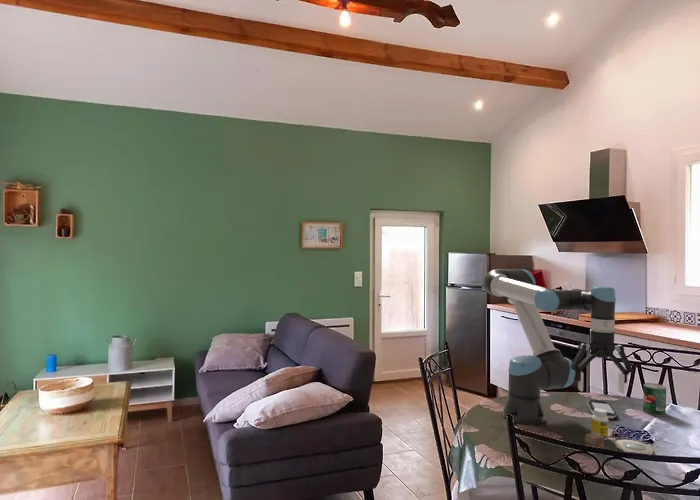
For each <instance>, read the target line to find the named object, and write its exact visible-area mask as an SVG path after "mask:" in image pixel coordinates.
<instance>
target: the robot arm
mask: <svg viewBox="0 0 700 500" xmlns="http://www.w3.org/2000/svg"><path fill="white" fill-rule="evenodd" d="M536 284H537V283H536V279H535V277H534V275H533V274H532V273H531V272H530V271H529V270H527V269H523V268H522V269H521V268H513V269H512V268H510V269H508V268H504V269H503V268H501V269H500V268H497V269H492V270H490V271H488V272H487V273H486V274H485V276H484V277H483V281H482V285H483V288H484V290H485V291H486V292H487V294H489V295H492V296H494V297H500V298H501V297H506V301H507V302H508V303H509V304H510V305H513V307H514V310H515V312H516V314H517V317H518V319H519V322H520V325H521V327H522V330H523V332H524V334H525V337H526V339H527V341H528V344H529V346H530V349H531V351H532V355H530V354H529V355H516V356H514V357H512V358H511V359H510V360H509V365H508V388H507V389H508V393H507V394H508V395H507V399H506V400H505V404H504V406H503V409H502V411H503V412H502V415H503V417H504V418H505V417H506V415H507V414H511V415H512V416H513V419H514V422H513V423H516V424H519V425H520V424H521V425H530V426H531V425H532V426H533V425H541V424H543V423H544V422H545V412H544V410H543V408H544V407H543V406H542V402H541V391H543V390H544V391H546V390H553V389H557V390H558V389H559V390H561V389H564V388H568V387H570V386H571V385H573V382H574V381H575V380H576V381H577V383H578V384H577V390H579V391H580V392H584V376H585V375H584V372H583V371H584V370H585V368H587V366H588V365H589V364H590V363H591V362H592V361H593V359H594V360H595V358H598V359H599V358H600V359H601V358H605V359H608V358H609V359H610V360H611V361H612V362H613V363H614V365H615V366H616V368H618V369H619V371H620V372H618V389H617V390H618V392H619V393H621V394H625V384H627V383H628V375H629V374H630V373H631V374H632V373H634V369H633V366H632V364H631V363H630V361H629V358H628V357H627V355H626V352H625V346H624V345H621V344H617V345H615V332H614V331H615V326H616V325H615V324H616V323H615V320H616V319H615V317H616V315H615V313H616V310H615V309H616V300H617V299H616V290H615V288H614V287H613V286H604V285H602V286H601V285H595V286H592V287H591V290H586V289H580V288H569V289H551V288H548V287H543V286H540V285H536ZM539 311H540V312H541V311H542V312H549V313H550V312H562V311H565V312H566V311H584V312H589V313H590V329H591V330H589V331H590V332H589V334H590V335H589V341H590V342H589V344H586V343H583V342H581V343H580V347H579V350H578V352H577V353H576V355H575V356H574V358H573V361H572V360H571V359H570V358H568V357H565V356H563V354H562V352H561V350H560V349H558V348H556V347H555V346H554V343H553V341H552V338H551V337H550V333H549V332H548V329H547V328H546V325H545V323H544V321H543V318H542V316H541V313H540V312H539ZM588 350H589V352H588V354H587V356H585V358H583V357H584V355H585V354H586V351H588ZM615 351H616V352H618V355H619V358H620V359H621V361H622V363H623V364H622V363H621V362H620V361H619V359H618V358H617V357H616V355H615V354H614V352H615ZM623 365H624V366H623Z"/></svg>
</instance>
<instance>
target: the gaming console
mask: <svg viewBox="0 0 700 500" xmlns="http://www.w3.org/2000/svg"><path fill="white" fill-rule="evenodd" d="M586 404H587V407H588V408H589V411H590V412H591V414H592V415H594V409H595V408H600V409H604V410H606V411H607V415H606V417H607V418H608V420H616V419H618V414H617V412H616V409H614V407H613V406H612V404H611V403H609V402H607V401H605V400H604V401H603V400H598V399H589V400H587V402H586Z"/></svg>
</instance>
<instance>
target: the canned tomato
mask: <svg viewBox="0 0 700 500" xmlns="http://www.w3.org/2000/svg"><path fill="white" fill-rule="evenodd" d="M642 394H643V397H642V400H643V401H642V404H643V405H642V412H643V413H645V414H646V415H651V416H655V417H664V416H666V415H665V414H666V410H667V409H666V405H667V386H665V385H663V384H658V383H654V382H653V383H652V382H647V383H644V384H643V393H642Z"/></svg>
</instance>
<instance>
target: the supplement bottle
mask: <svg viewBox="0 0 700 500" xmlns="http://www.w3.org/2000/svg"><path fill="white" fill-rule="evenodd" d="M606 415H607V411H606V410H604V409H600V408H595V409H594V415H593V414H592V415H591V418H590V434H591V433H596V434H598V435H600V436H602V437H604V441H607V440H608V438H609V419H608V418H607V417H606Z"/></svg>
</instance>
